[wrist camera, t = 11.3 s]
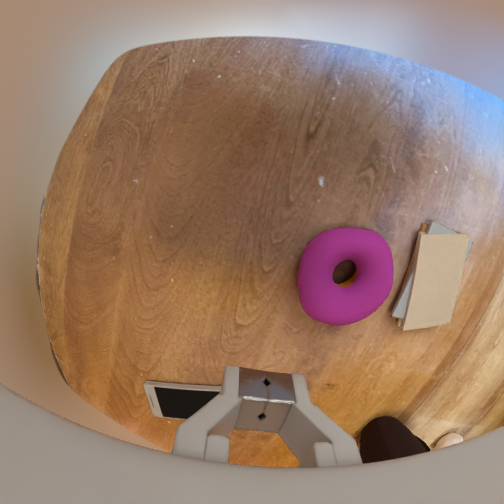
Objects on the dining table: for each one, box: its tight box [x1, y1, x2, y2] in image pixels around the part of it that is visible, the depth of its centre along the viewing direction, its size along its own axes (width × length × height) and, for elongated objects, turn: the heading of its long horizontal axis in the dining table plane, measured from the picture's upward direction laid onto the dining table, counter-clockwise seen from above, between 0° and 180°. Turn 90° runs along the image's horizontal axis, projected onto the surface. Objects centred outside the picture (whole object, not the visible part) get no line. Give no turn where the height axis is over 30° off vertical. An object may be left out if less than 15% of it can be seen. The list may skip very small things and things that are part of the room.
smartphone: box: [143, 381, 221, 420], centre depth 35 cm, size 7×16×1 cm, turn 90°
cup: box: [360, 416, 430, 464], centre depth 33 cm, size 10×14×12 cm
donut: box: [296, 228, 393, 325], centre depth 28 cm, size 10×10×5 cm
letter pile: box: [390, 220, 473, 331], centre depth 29 cm, size 14×10×2 cm
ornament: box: [435, 433, 463, 450], centre depth 39 cm, size 7×7×8 cm
